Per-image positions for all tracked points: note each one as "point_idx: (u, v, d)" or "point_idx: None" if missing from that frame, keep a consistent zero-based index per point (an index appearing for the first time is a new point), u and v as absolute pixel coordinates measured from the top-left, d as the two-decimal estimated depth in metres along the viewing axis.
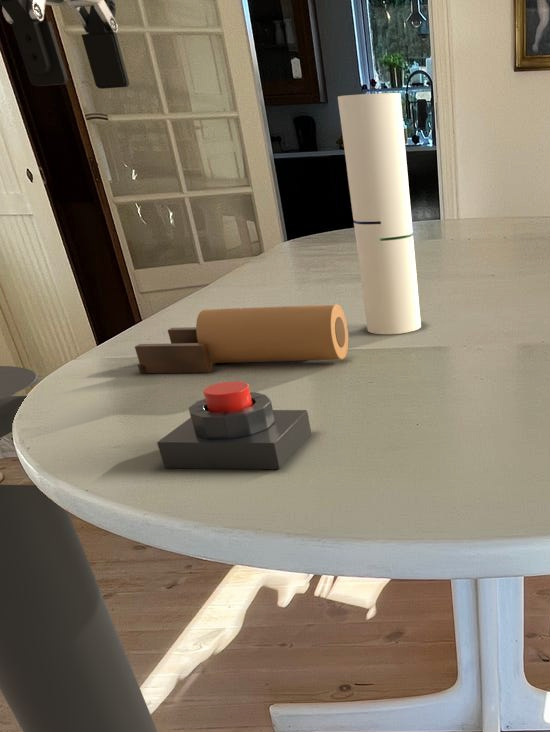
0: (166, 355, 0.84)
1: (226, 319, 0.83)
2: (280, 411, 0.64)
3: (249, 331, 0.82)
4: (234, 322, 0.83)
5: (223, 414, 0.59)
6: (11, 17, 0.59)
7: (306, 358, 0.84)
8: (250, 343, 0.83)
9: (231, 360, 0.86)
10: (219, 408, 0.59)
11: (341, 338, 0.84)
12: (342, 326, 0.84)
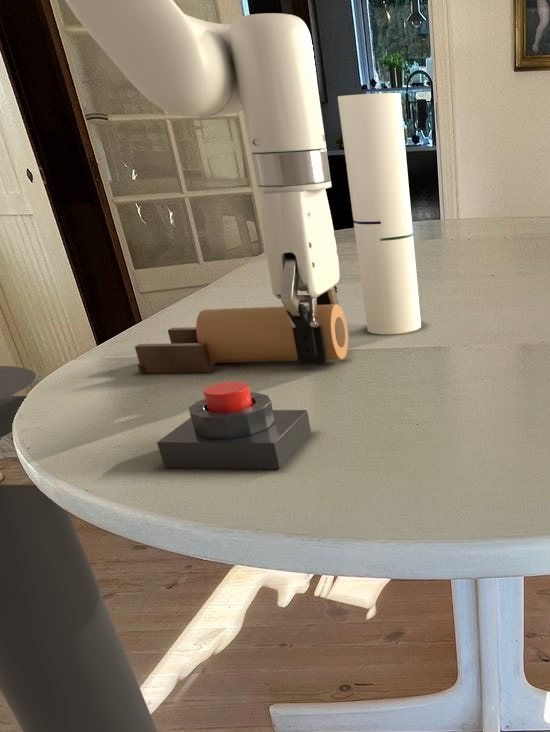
0: (166, 355, 0.84)
1: (226, 319, 0.83)
2: (280, 411, 0.64)
3: (249, 331, 0.82)
4: (234, 322, 0.83)
5: (223, 414, 0.59)
6: (295, 326, 0.80)
7: None
8: (250, 343, 0.83)
9: (231, 360, 0.86)
10: (219, 408, 0.59)
11: (341, 338, 0.84)
12: (342, 326, 0.84)
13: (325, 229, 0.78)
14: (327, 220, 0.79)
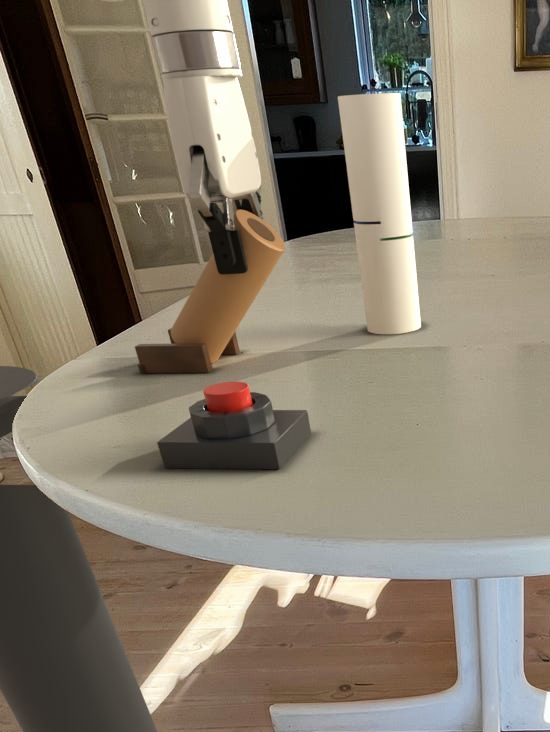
0: (166, 355, 0.84)
1: (184, 310, 0.83)
2: (280, 411, 0.64)
3: (201, 299, 0.81)
4: (189, 305, 0.82)
5: (223, 414, 0.59)
6: (210, 229, 0.75)
7: (255, 279, 0.80)
8: (210, 308, 0.81)
9: (216, 343, 0.85)
10: (219, 408, 0.59)
11: (267, 233, 0.79)
12: (262, 225, 0.79)
13: (238, 124, 0.74)
14: (241, 115, 0.74)
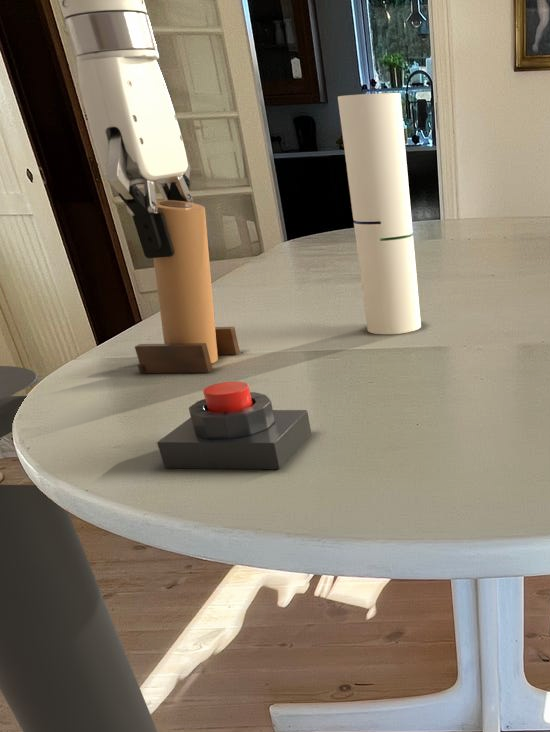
0: (166, 355, 0.84)
1: (162, 327, 0.84)
2: (280, 411, 0.64)
3: (166, 304, 0.82)
4: (162, 318, 0.83)
5: (223, 414, 0.59)
6: (133, 212, 0.75)
7: (193, 251, 0.79)
8: (175, 306, 0.82)
9: (202, 339, 0.85)
10: (219, 408, 0.59)
11: (182, 204, 0.78)
12: (177, 202, 0.79)
13: (157, 106, 0.74)
14: (160, 97, 0.74)
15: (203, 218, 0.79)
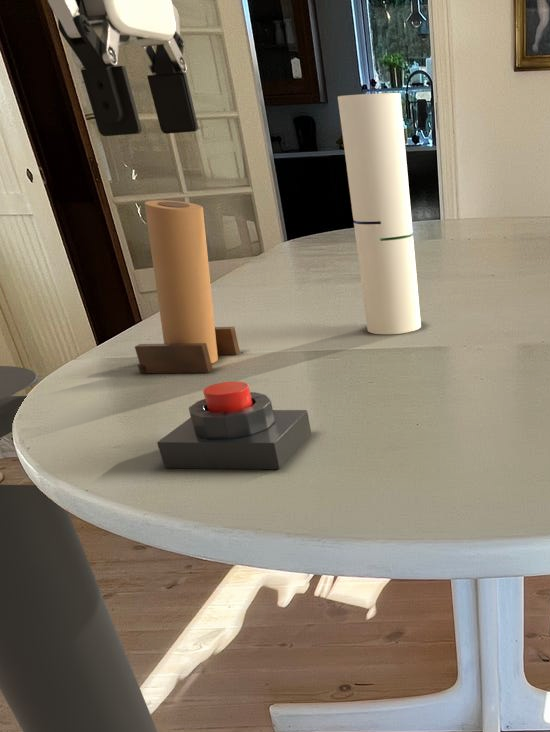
0: (166, 355, 0.84)
1: (162, 327, 0.84)
2: (280, 411, 0.64)
3: (165, 304, 0.82)
4: (162, 319, 0.84)
5: (223, 414, 0.59)
6: (81, 61, 0.52)
7: (192, 251, 0.79)
8: (175, 307, 0.82)
9: (201, 339, 0.85)
10: (219, 408, 0.59)
11: (180, 204, 0.78)
12: (175, 202, 0.79)
13: None
14: None
15: (201, 218, 0.79)
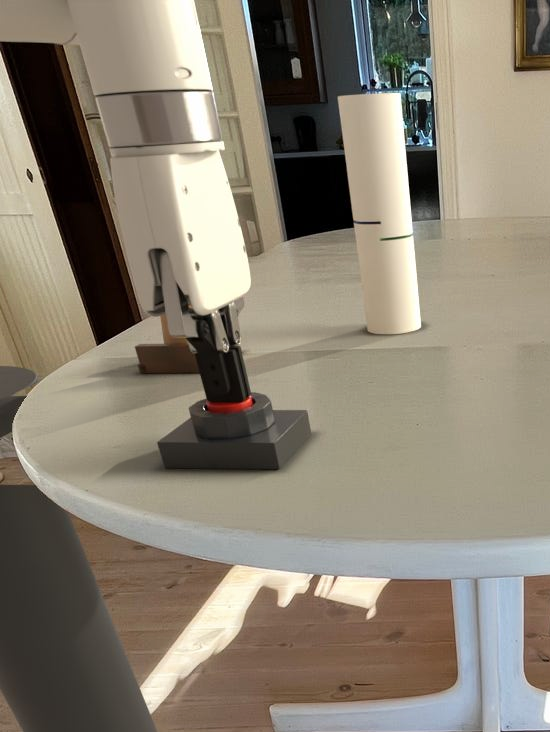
0: (166, 355, 0.84)
1: (162, 327, 0.84)
2: (280, 411, 0.64)
3: None
4: (162, 319, 0.84)
5: (223, 414, 0.59)
6: (197, 350, 0.57)
7: None
8: None
9: None
10: None
11: None
12: None
13: (219, 214, 0.53)
14: (223, 201, 0.54)
15: None
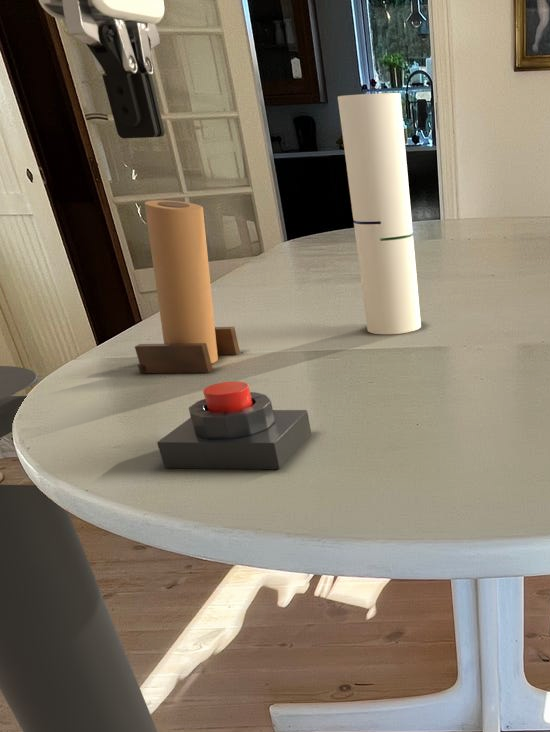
0: (166, 355, 0.84)
1: (162, 327, 0.84)
2: (280, 411, 0.64)
3: (165, 304, 0.82)
4: (162, 319, 0.84)
5: (223, 414, 0.59)
6: (103, 68, 0.55)
7: (192, 251, 0.79)
8: (175, 307, 0.82)
9: (201, 339, 0.85)
10: (219, 408, 0.59)
11: (180, 204, 0.78)
12: (175, 202, 0.79)
13: None
14: None
15: (201, 218, 0.79)
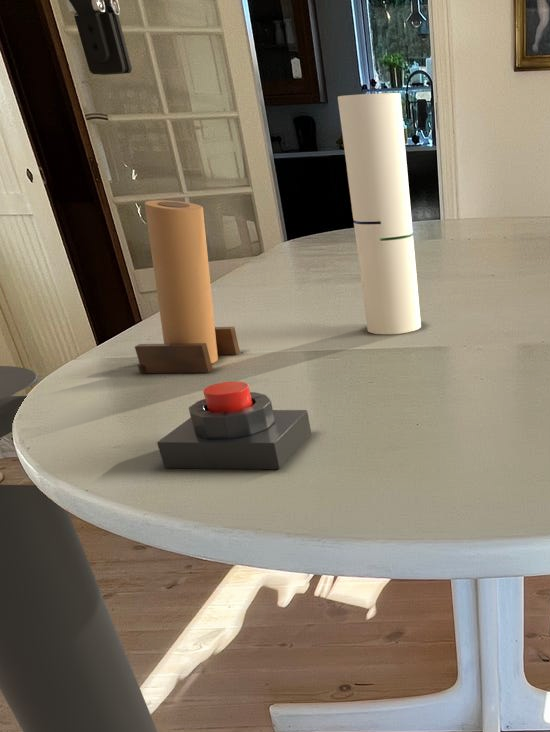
0: (166, 355, 0.84)
1: (162, 327, 0.84)
2: (280, 411, 0.64)
3: (165, 304, 0.82)
4: (162, 319, 0.84)
5: (223, 414, 0.59)
6: (74, 8, 0.62)
7: (192, 251, 0.79)
8: (175, 307, 0.82)
9: (201, 339, 0.85)
10: (219, 408, 0.59)
11: (180, 204, 0.78)
12: (175, 202, 0.79)
13: None
14: None
15: (201, 218, 0.79)
